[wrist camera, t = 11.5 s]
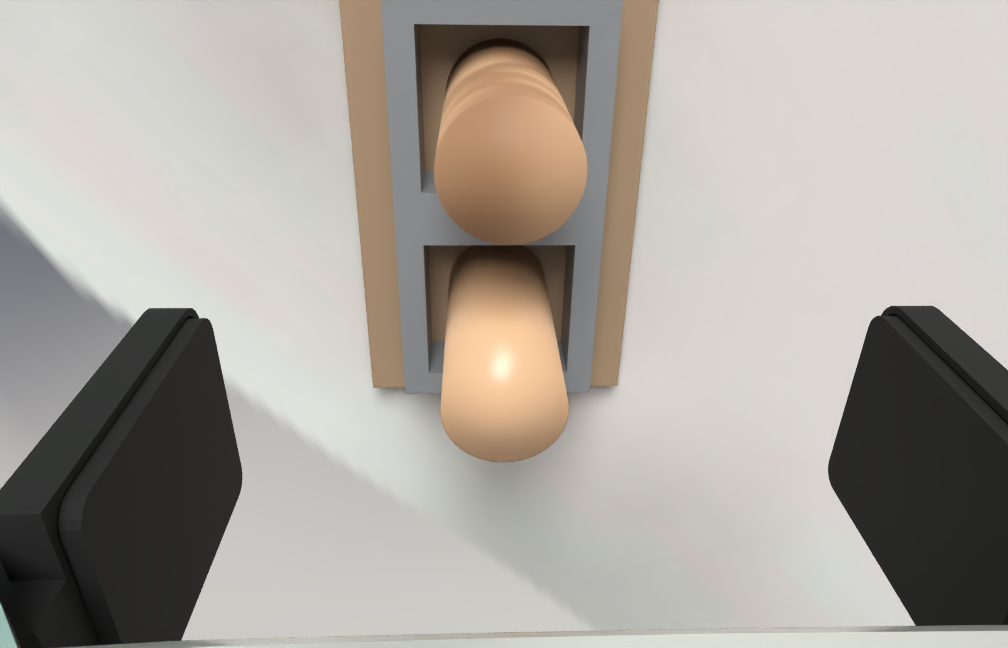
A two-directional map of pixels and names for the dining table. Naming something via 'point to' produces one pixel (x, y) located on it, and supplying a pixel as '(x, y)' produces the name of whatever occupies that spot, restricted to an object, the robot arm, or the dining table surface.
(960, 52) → the dining table surface
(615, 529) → the dining table surface
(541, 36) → the housing
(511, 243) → the switch lever
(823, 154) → the dining table surface
